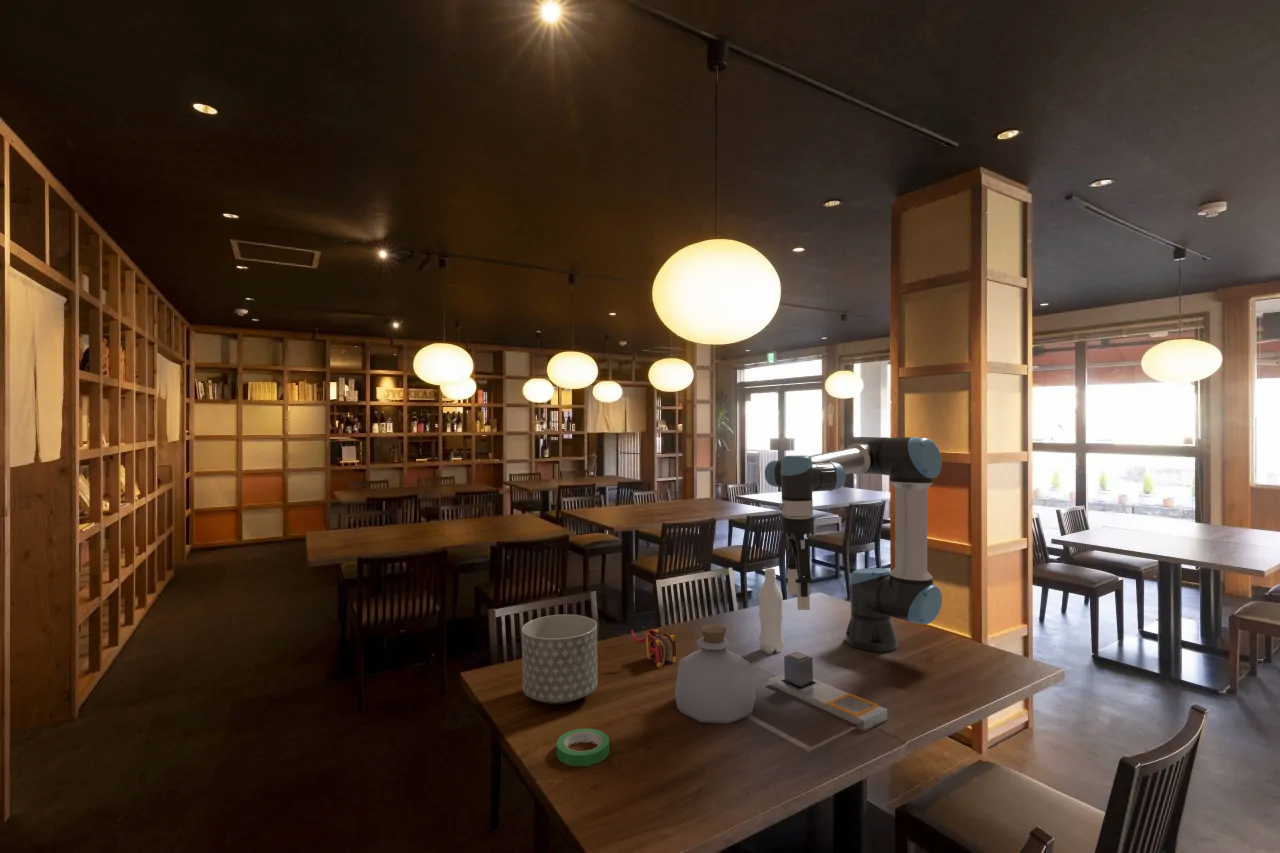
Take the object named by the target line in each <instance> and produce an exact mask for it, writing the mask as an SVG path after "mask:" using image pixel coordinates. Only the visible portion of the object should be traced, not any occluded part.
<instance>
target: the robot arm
mask: <svg viewBox="0 0 1280 853" xmlns="http://www.w3.org/2000/svg"><path fill="white" fill-rule="evenodd" d="M942 465H943V459H942V454H941V451H940V449H939V447H938V446H937V444H936V443H935V442H934V441H933V440H931V439H929V438H927V437H919V436H918V437H917V436H913V437H911V436H910V437H909V436H908V437H907V436H905V437H879V438H874V439H869V440H864V441H861V442H857V443H856V442H855V443H853V444H850V445H848V446H847V447H846V448H843V449H838V450H833V451H827V452H821V453H818V454H814V455H784V456H783V457H782V458H781V459H778V460H771V461H769V462H768V463H767V464H766V467H765V468H764V479H765V481H766V483H767V484H768V485H770V486H772V487H775V488H776V487H777V488H780V489H781V502H782V503H779V508H781V515H782V516H783V517H782V518H781V530H782V532H783V533H785V534H787V544H786V545H787V548H786V559H785V560H786V561H785V563H786V568H787V594H788V595H790V596H791V595H794V596H795V595H797V596H796V597H797V598H796V599H797V601H796V602H797V611H810V610H811V609H810V605H811V604H810V602H811V601H810V595H811V594H810V583H812V574H811V565H810V555H809V541H808V540H807V539H805V535H809V534H812V533H813V531H814V527H813V526H814V525H813V524H814V523H813V522H814V521H813V520H814V519H813V518H812V516H813V515H814V514H813V512H814V511H813V509H814V508H813V507H814V504H813V502H814V501H813V492H826V491H827V492H828V491H829V492H832V491H836V490H839V489H841V488H842V487H843V486H844V484H845V483H846V477H847V475H849V474H853V475H864V474H870V475H882V476H889V483H890V484H892V486H893V487H894V490H895V494H894V496H895V498H894V500H895V501H894V504H895V506H894V507H895V508H894V509H895V510H894V511H895V512H894V513H895V514H894V515H895V516H894V518H895V519H894V528H895V529H894V535H895V536H894V537H895V538H894V540H895V541H894V542H895V544H894V545H895V546H894V547H895V548H894V550H895V551H894V555H895V556H894V558H895V560H894V561H895V562H894V566H895V567H894V568H893V569H892V570H891V571H890V570H889V569H887V568H883V567H882V568H879V567H872V568H871V567H870V568H861V569H855V570H853V571H852V572H851V573H850V579H849V580H850V583H849V588H850V589H849V591H850V594H849V595H850V619H849V621H848V625H847V628H846V631H845V642H846V643H847V644H848V646H851V647H853V648H855V649H859V650H862V651H868V652H876V653H877V652H879V653H882V652H883V653H884V652H891V651H893V650H896V649H897V648H898V637H897V635H896V631H895V629H894V626H893V624H892V623H893V622H892V619H891V618H896V619H899V620H903V621H907V622H909V623H912V624H919V625H922V626H923V625H928V624H931V623H932V622H933V621H934V620H935V619H936V618H937V616H938V615H939V614H940V611H941V608H942V604H943V593H942V591H941V588H939V586H937V585H935V584H934V578H933V577H934V576H933V575H932V574H931V573H930V572H929V571H928V489H929V488H930V487H931V486H932V485H933V484H934V481H933V480H934V479H935V478H936V477H938V476H939V475H940V473H941V470H942V467H943V466H942Z"/></svg>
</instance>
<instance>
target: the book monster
mask: <svg viewBox="0 0 1280 853" xmlns="http://www.w3.org/2000/svg"><path fill="white" fill-rule="evenodd" d="M630 632H631V635H632V636H633V637H634V640H635V641H636V642H637V644H640V643H641V644H642V643H644V642H645V644H646V655H647V656H646V657H647V658H649V659H651V660H650V661H653V663H654V664H656V667H657V668H659V669H661V668H662V666H664V664H665V662H669V661H671V662H673V663H674V662H675V663H676V662H677V660H678V659H677V658H678V657H677V648H676V634H670V633H668V632H666V631H665V632H664V631H660V630H659V629H649V630H648V631H647V632H645V636H644V638H641V639H638V638H637V637H636V636H635V633H634V629H632V630H630Z"/></svg>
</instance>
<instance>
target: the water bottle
mask: <svg viewBox="0 0 1280 853" xmlns="http://www.w3.org/2000/svg"><path fill="white" fill-rule="evenodd" d="M764 573H765V574H764V582H763V584H762V585H761V586H762V587H761V588H760V590H759V593H758V599H759V600H758V604H759V606H758V608H759V610H758V611H759V612H758V617H759V619H760V620H759V621H760V633H759V639H758V640H759V647H760V650H761V651H762V652H763V653H765V654H767V655H773V653H775V654H777V653H781V652H782V650H783V648H784V645H785V644H784V640H785V639H784V635H783V628H782V626H783V617H784V611H783V593H782V590H781V588H780V587H779V584H778V583H777V581H776V578H777V576H776V569H775V568H769V567H768V568H765V570H764Z"/></svg>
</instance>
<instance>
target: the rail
mask: <svg viewBox="0 0 1280 853" xmlns="http://www.w3.org/2000/svg"><path fill="white" fill-rule="evenodd" d="M768 685H769V686H770V687H773V688H776V689H778V690H780V691H781V692H784V693H786V694H788V695H791V696H792V697H795V698H797V699H799V700H802V701H804V702H806V703H808V704H810V705H813V706H815V707H817V708H819V709H822V710H824V711H826V712H827V713H830V714H832V715H834V716H837V717H838V718H841V719H843V720H845V721H848V722H850V723H851V724H854V725H853V726H852V727H854V728H856V729H858V730H860V731H862V732H865V731H868V730H870V729H872V728H874V727H876V726H878V725H880V724H882V723H884V722H885V721H887V720H888V709H887V708H885V707H884V706H880V704H878V703H875V702H873V701H871V700H868V699H865V698H862V697H860V696H858V695H856V694H853V693H851V692H847V691H844V690H841V689H840V688H836V687H834V686H832V685H829V684H827V683H824V682H822V681H820V680H817V679H815V678H813V685H811V686H808V687H806V688H803V689H801V690H800V689H798V688H796V687H793V686H791V685H789V684H787V683H785V674H784V672H783V673H781V674H777V675H775V676H772V677H769V678H768Z"/></svg>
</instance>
